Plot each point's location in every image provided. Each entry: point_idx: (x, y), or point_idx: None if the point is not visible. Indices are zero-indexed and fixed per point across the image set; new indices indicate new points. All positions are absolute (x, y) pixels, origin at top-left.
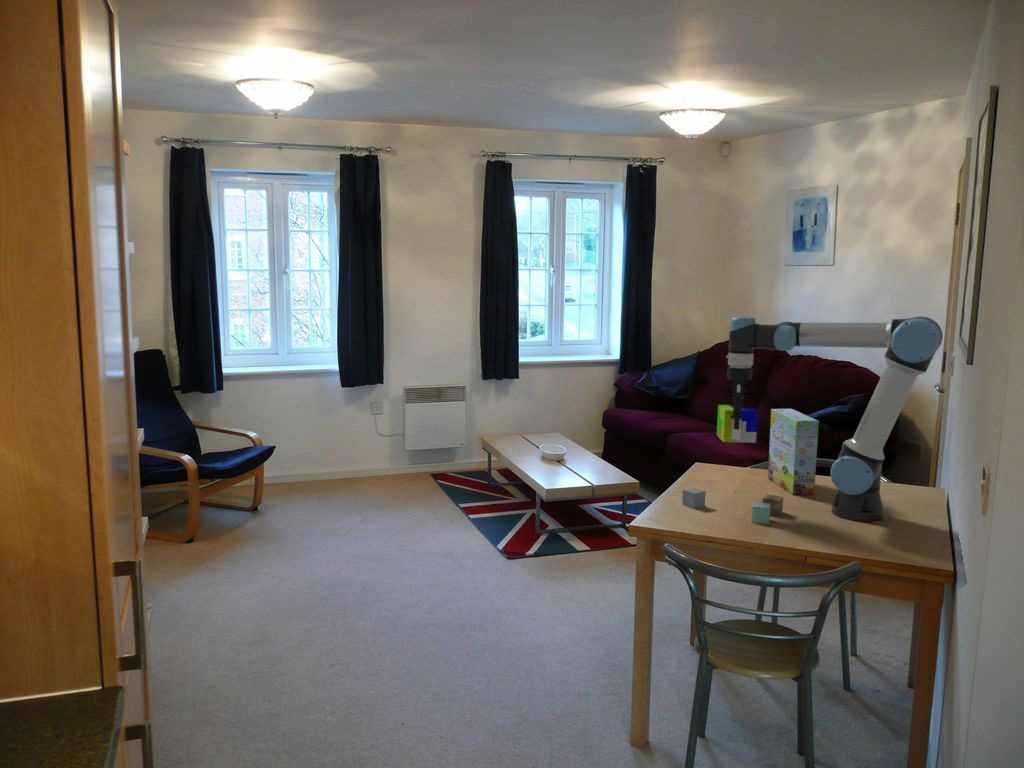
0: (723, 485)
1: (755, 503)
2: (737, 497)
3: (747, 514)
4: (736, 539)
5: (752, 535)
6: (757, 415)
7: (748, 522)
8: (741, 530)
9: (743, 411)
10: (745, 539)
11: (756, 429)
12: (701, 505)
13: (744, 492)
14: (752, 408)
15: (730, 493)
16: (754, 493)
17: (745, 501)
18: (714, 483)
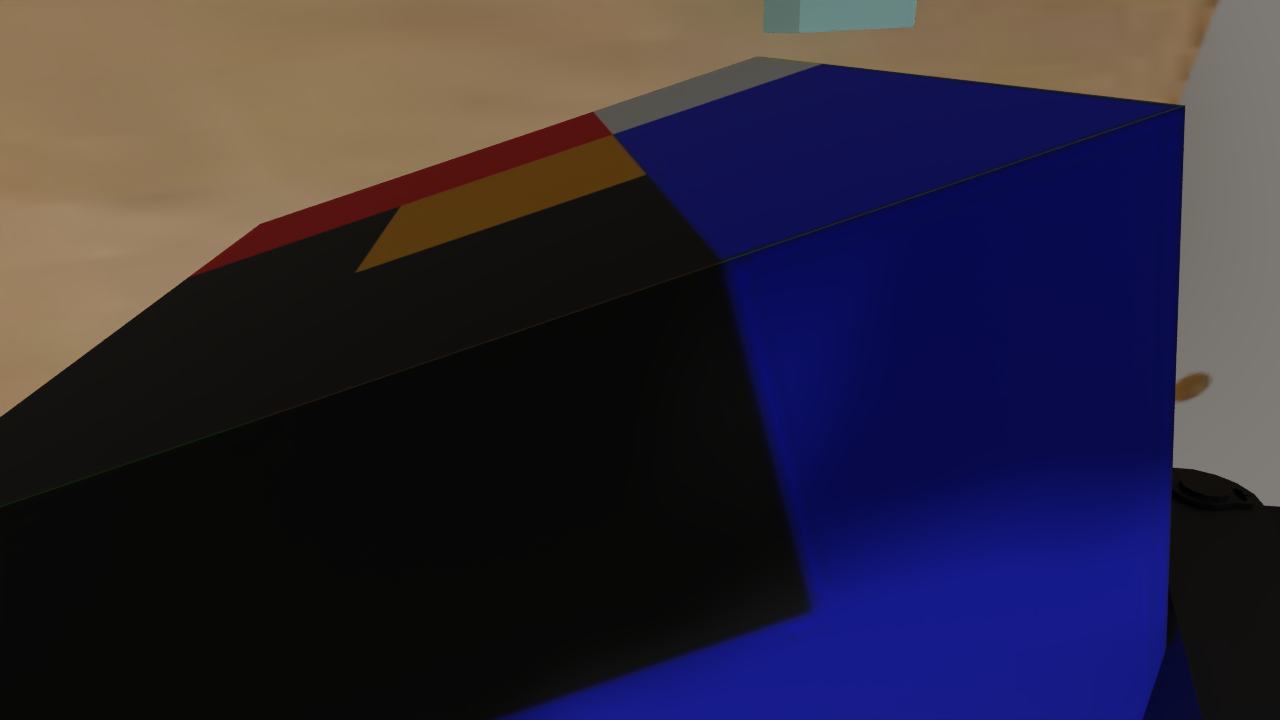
0: (42, 295)
1: (832, 10)
2: (321, 166)
3: (706, 66)
4: (1175, 94)
5: (1105, 8)
6: (1048, 90)
7: (871, 48)
8: (1027, 79)
9: (1152, 555)
10: (1173, 45)
11: (842, 70)
12: None
13: (145, 128)
14: (630, 374)
15: (241, 223)
16: (123, 48)
17: (397, 102)
18: (31, 358)
